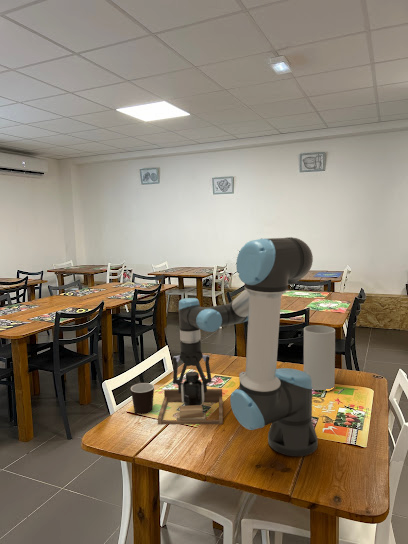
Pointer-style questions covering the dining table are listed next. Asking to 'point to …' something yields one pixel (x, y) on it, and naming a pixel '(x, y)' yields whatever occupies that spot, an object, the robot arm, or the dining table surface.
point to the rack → (175, 396)
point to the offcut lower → (192, 418)
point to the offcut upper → (191, 411)
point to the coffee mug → (142, 397)
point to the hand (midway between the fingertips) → (193, 400)
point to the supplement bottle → (192, 389)
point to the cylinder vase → (320, 356)
